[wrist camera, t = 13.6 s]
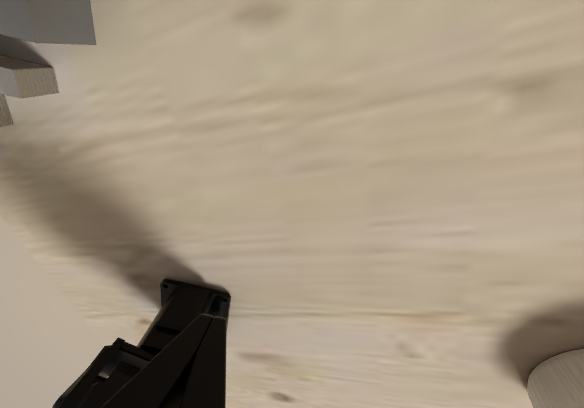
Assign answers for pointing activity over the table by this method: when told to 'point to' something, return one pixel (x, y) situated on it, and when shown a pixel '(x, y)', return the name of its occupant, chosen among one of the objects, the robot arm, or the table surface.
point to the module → (48, 21)
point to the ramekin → (558, 381)
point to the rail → (23, 83)
